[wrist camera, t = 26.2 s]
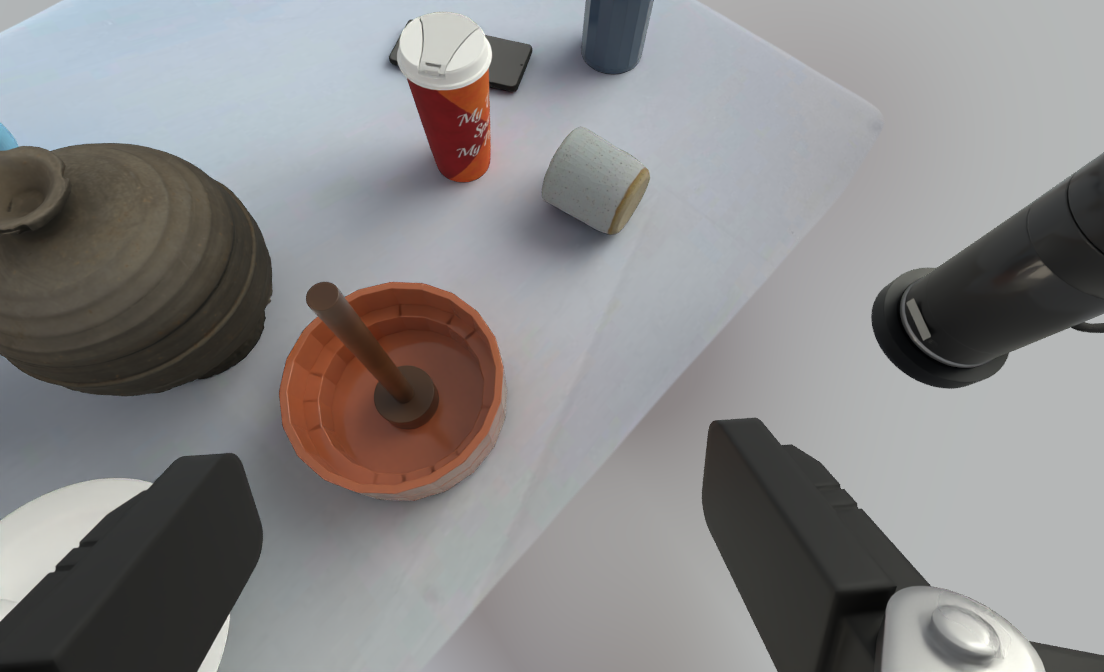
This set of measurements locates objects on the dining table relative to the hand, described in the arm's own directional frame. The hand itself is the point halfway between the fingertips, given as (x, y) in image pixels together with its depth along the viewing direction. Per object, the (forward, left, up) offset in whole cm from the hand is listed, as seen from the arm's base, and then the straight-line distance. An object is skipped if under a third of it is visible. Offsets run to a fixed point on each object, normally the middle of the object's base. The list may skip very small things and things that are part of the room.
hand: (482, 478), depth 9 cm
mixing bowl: (+6, -13, -35) cm, 37 cm away
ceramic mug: (-16, -29, -35) cm, 48 cm away
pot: (+22, -25, -35) cm, 48 cm away
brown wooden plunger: (+6, -13, -34) cm, 37 cm away
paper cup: (-4, -37, -35) cm, 51 cm away
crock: (-24, -48, -35) cm, 64 cm away
